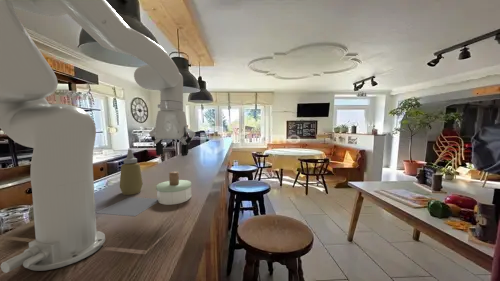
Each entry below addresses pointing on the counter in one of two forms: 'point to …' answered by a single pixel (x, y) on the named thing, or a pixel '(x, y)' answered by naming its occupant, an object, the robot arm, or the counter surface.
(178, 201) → the bowl
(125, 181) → the squeeze bottle
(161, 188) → the lid
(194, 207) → the counter surface
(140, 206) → the mat
